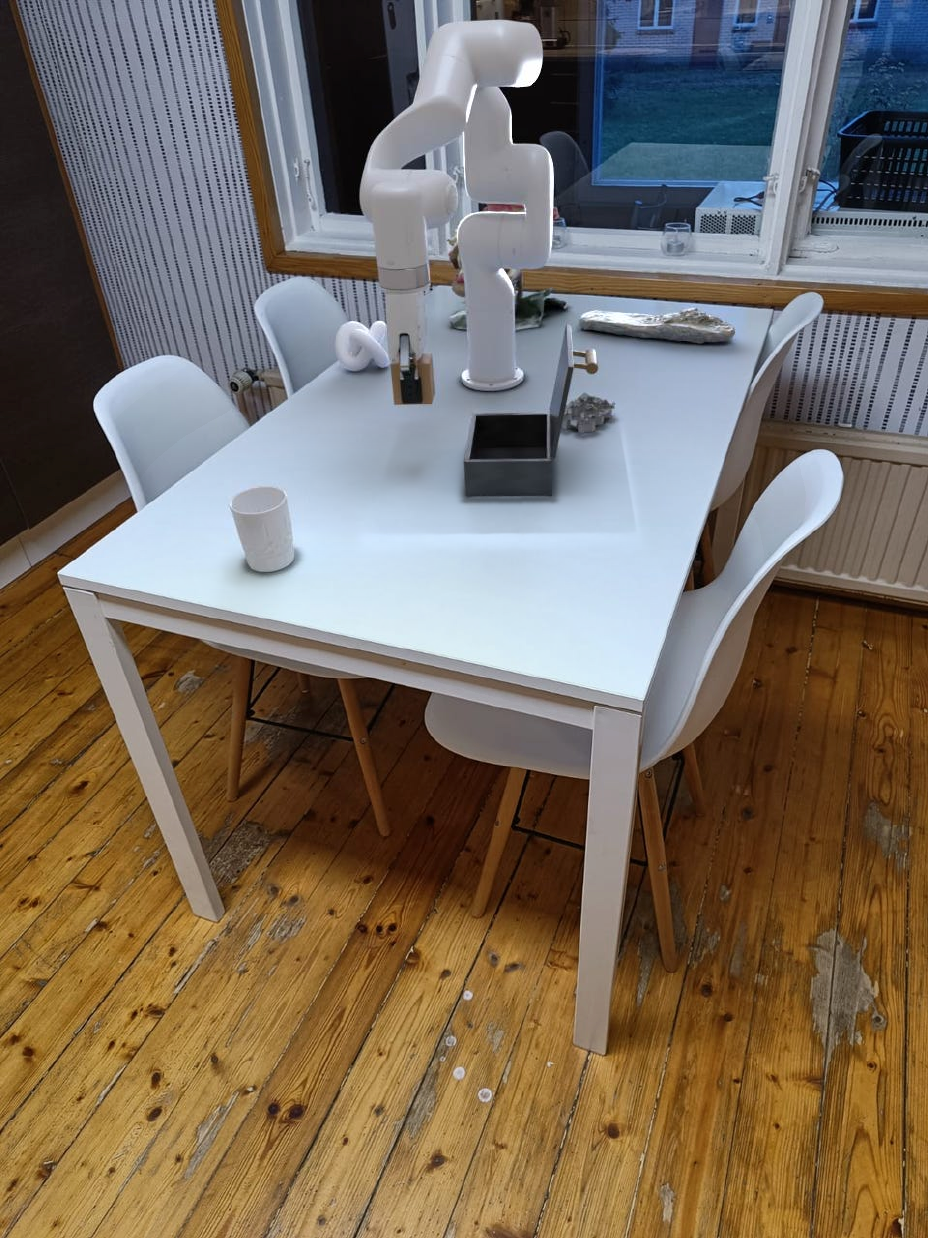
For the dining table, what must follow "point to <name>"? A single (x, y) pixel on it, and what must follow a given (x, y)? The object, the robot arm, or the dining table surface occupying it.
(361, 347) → the white knot sculpture
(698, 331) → the long grey stone
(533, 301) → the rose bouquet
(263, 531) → the white cup
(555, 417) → the lid
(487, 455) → the chest
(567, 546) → the dining table surface
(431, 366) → the package
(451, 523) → the dining table surface
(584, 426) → the grey rock
